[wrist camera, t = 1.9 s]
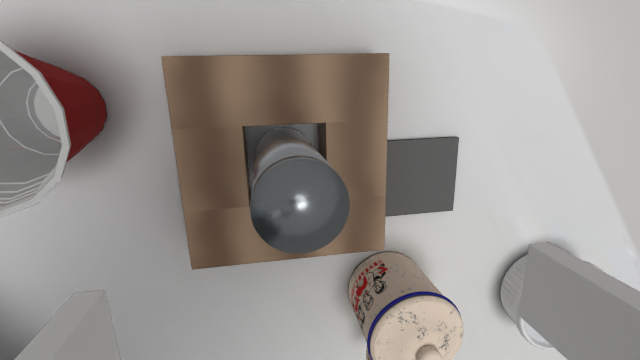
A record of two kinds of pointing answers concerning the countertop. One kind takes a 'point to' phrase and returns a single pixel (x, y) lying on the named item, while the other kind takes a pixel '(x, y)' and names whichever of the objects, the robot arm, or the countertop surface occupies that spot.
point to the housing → (275, 109)
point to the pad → (420, 175)
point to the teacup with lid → (403, 311)
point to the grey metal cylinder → (295, 194)
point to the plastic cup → (41, 126)
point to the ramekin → (511, 302)
